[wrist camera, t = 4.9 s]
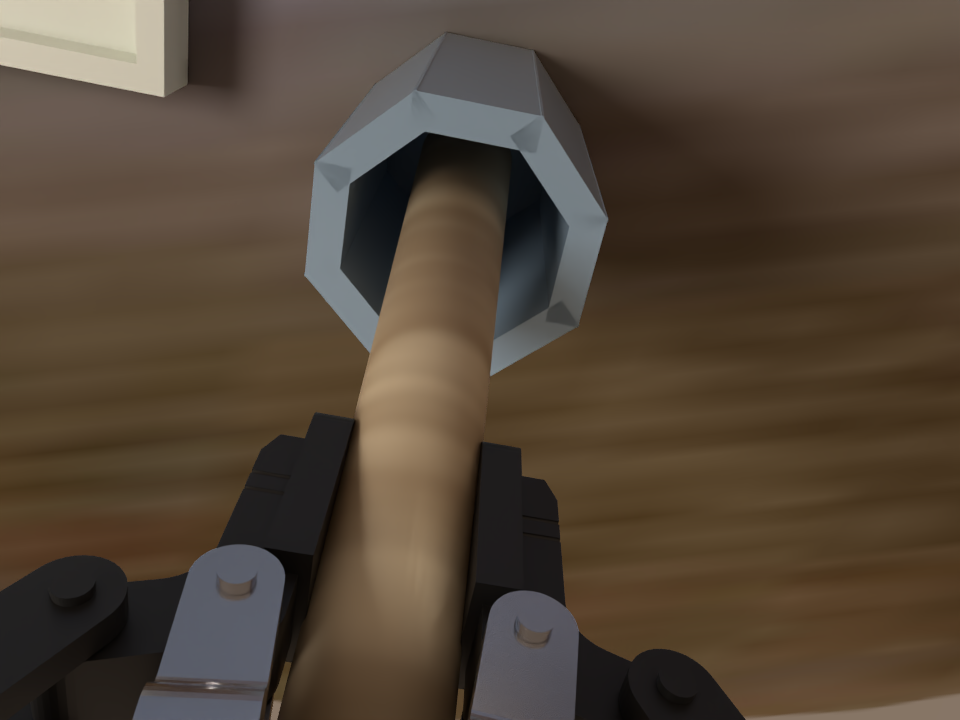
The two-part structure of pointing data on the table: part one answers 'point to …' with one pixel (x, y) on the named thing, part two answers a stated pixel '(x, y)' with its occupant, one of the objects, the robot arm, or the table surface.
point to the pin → (411, 461)
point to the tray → (100, 41)
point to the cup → (531, 200)
